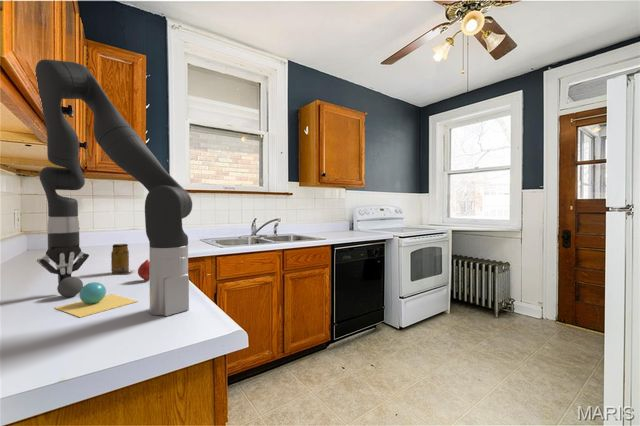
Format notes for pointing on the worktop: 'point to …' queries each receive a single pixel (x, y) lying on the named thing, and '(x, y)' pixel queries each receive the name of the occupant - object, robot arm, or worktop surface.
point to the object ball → (92, 293)
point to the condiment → (120, 260)
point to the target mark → (95, 306)
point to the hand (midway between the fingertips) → (64, 285)
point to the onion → (144, 270)
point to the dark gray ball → (70, 286)
